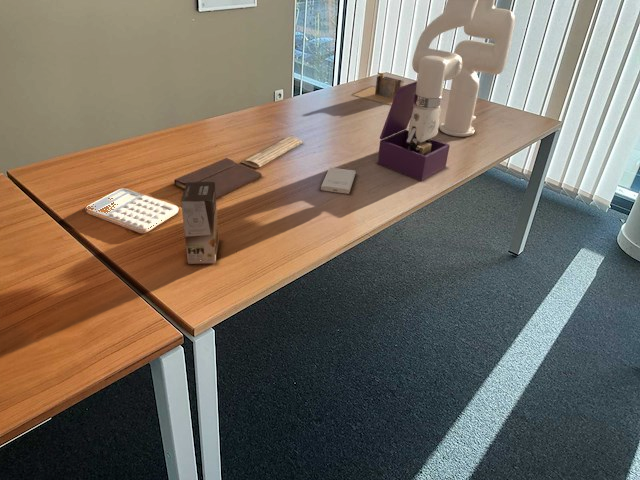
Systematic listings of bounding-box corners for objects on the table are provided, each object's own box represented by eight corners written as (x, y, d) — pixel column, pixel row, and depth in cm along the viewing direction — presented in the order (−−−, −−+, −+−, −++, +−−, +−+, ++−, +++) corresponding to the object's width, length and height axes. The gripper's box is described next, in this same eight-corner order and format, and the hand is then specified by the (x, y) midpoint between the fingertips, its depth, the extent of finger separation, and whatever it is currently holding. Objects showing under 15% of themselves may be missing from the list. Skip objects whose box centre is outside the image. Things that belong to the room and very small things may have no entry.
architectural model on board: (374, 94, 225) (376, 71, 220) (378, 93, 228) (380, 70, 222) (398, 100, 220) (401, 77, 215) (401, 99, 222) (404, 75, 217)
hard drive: (355, 175, 160) (349, 194, 149) (328, 172, 161) (320, 190, 151) (355, 170, 159) (349, 189, 148) (329, 167, 160) (321, 185, 150)
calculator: (143, 235, 127) (142, 228, 126) (84, 213, 135) (82, 206, 134) (180, 211, 137) (180, 205, 136) (123, 192, 145) (122, 186, 144)
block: (415, 154, 167) (418, 139, 165) (429, 159, 165) (431, 144, 162) (406, 158, 164) (409, 143, 161) (420, 163, 161) (422, 148, 159)
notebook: (261, 178, 155) (261, 171, 154) (211, 202, 142) (210, 195, 141) (225, 163, 163) (225, 157, 162) (174, 184, 149) (173, 178, 148)
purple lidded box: (445, 167, 167) (449, 144, 163) (421, 181, 158) (425, 157, 154) (402, 151, 176) (405, 129, 172) (377, 163, 167) (380, 140, 163)
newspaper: (259, 169, 160) (259, 163, 159) (241, 162, 163) (240, 157, 162) (302, 144, 177) (302, 139, 176) (285, 139, 180) (285, 134, 179)
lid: (426, 80, 160) (424, 78, 160) (400, 89, 151) (397, 87, 151) (406, 128, 171) (404, 127, 172) (381, 139, 163) (379, 138, 163)
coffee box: (216, 263, 119) (211, 201, 110) (187, 264, 118) (180, 201, 109) (219, 241, 126) (215, 181, 118) (192, 241, 126) (185, 181, 117)
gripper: (421, 110, 147) (412, 170, 157) (453, 97, 158) (443, 154, 168) (399, 103, 151) (392, 162, 161) (432, 91, 162) (423, 147, 172)
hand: (418, 157), depth 164 cm, fingers closed on block, 5 cm apart
